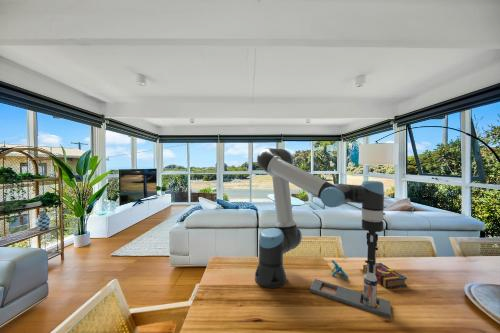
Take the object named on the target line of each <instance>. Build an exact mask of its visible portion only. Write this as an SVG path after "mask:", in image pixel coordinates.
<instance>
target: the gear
mask: <svg viewBox="0 0 500 333" xmlns="http://www.w3.org/2000/svg"><path fill="white" fill-rule="evenodd" d="M331 263H332V264H333V265H334V266H333V268H332V269H331V270H330V271H331V272H332V274H331V276H333V277H334V276H335V275H337V274H339V273H341V274H342V275H343V276H344V277H345V278H346V279H348V278H349V276H348V275H347V274H346V272H345V271H344V270H343V268H342V267H341V266H340V265H338V264H337V262H336V261H335V260H333V259H331Z"/></svg>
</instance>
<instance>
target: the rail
mask: <svg viewBox="0 0 500 333" xmlns="http://www.w3.org/2000/svg"><path fill="white" fill-rule="evenodd" d="M309 292H310V293H313V294H315V295H319V296H322V297H325V298H328V299H331V300H334V301H336V302H340V303H343V304H346V305H349V306H352V307H355V308H357V309H361V310H363V311H366V312H370V313H372V314H375V315H379V316H382V317H385V318H388V319H392V307H391V301H390V300H389V299H388V300H386V299H384V298H382V297H381V298H380V297H378V296H377V299H376V304H377V303H378V308H377V307H371V306H368V305H365V304H364V303H362V299H363V294H364V292H361V291H357V290H354V289H351V288H347V287H344V286H341V285H338V284H337V285H336V284H334V283H330V282H328V281H325V280H324V281H323V280H321V279H320V280H319V279H318V278H314V280H313V282H312V284H311V285H310V287H309Z"/></svg>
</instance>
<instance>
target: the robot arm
mask: <svg viewBox="0 0 500 333" xmlns="http://www.w3.org/2000/svg"><path fill="white" fill-rule="evenodd" d="M256 162H257V166H258V167H259V168H260V169H261V170H263V171H264V172H266V173H267V174H268V175H269V176H271V178H272V188H273V195H274V205H275V206H274V207H275V214H276V217H275V218H276V222H275V223H274V227H271V228H265V229H263V230H262V231H260V233H259V238H258V265H257V267H256V268H255V273H254V280H255V282H256V283H257V284H258V285H259V286H261V287H263V288H267V289H268V288H269V289H277V288H280V287H283V286H284V285H285V284H287V274H286V271H285V265H284V255H285V254H286V253H288V252H290V251H291V250H294V249H296V248H297V247H298V246H299V245H300V244H301V242H302V240H303V237H302V236H303V234H302V231H301V230H300V228H299V227H298V226H297V222H296V221H295V220H294V217H293V216H294V215H293V207H292V206H293V205H292V199H291V197H292V196H291V191H290V190H291V188H290V184H292V185H293V186H295V187H298V188H299V189H301V190H303V191H305V192H307V193H308V194H310V195H312V196H314V197H316V198H318V199H320V201H321V202H322V204H323V205H324V206H325V207H328V208H336V207H341V206H342V205H344V204H348V203H353V204H361V218H362V219H361V228H362V229H363V231H364V230H365V231H368V232H366V236H365V237H366V238H365V239H366V246H367V258H366V260H364V264H365V263H366V265H367V280H370V281H374V282H375V266H376V263H377V251H378V250H379V248H378V240H379V234H378V233H381V232H383V231H384V216H385V215H386V212H384V205H385V203H384V201H385V200H384V199H385V188H384V187H385V186H384V183H383V182H382V181H378V180H377V181H376V180H364V181H361V182H362V184H360V185H358V184H357V185H356V184H347V183H346V184H345V183H334V184H333V183H331V182H329V181H327V180H324V179H323V178H321V177H319V176H316V175H315V174H312V173H310V172H309V171H307V170H304V169H302V168H299V167H298V166H296V165H294V158H293V155H292V153H291V151H288V150H286V149H284V148H271V147H267V148H264V149H263V148H262V149H261V150H260V151H259V152H258V154H257V156H256ZM377 232H378V233H377Z"/></svg>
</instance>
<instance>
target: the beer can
mask: <svg viewBox="0 0 500 333" xmlns="http://www.w3.org/2000/svg"><path fill="white" fill-rule="evenodd" d="M377 288H378V283H377V278H376V276H375V282H374V281H370V280H367V273H366V274H365V273H364V275H363V293H364V294H363V298H362V302H363V303H362V304H365V305H368V306H371V307H375V308H377V302H376V299H377V297H378V296H377V293H378V289H377Z"/></svg>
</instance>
